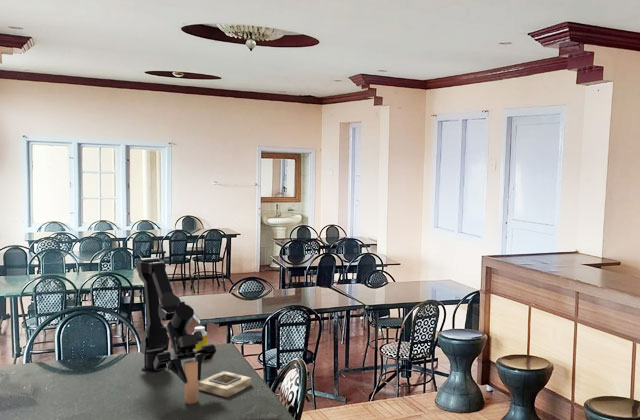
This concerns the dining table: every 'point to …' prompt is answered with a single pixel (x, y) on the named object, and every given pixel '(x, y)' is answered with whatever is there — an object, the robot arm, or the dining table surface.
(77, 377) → the dining table surface
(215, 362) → the dining table surface
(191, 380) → the peg
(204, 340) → the supplement bottle
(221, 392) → the socket block
